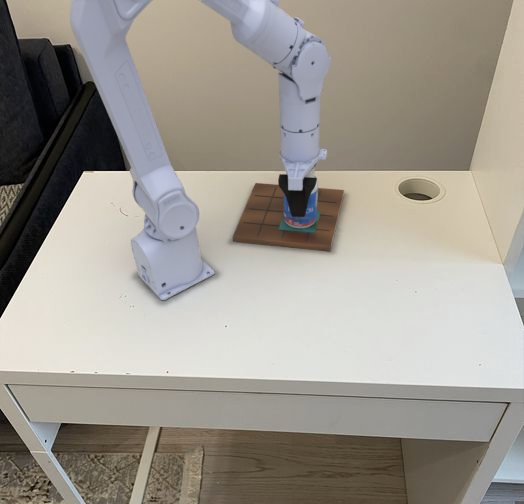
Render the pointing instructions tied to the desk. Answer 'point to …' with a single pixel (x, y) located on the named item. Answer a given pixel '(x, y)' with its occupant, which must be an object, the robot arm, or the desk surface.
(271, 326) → the desk surface
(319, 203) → the board
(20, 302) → the desk surface
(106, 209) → the desk surface
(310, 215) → the pill bottle
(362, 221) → the desk surface
